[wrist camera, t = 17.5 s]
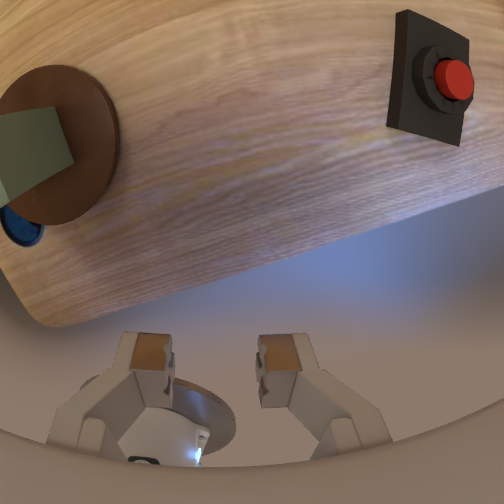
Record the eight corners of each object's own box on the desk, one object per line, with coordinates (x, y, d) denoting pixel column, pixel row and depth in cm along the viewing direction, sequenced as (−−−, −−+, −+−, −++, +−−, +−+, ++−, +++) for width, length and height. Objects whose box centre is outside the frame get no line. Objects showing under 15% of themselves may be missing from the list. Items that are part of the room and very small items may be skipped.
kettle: (25, 240, 26) (-41, 312, 15) (-23, 115, 19) (-109, 143, 8) (143, 189, 25) (91, 260, 14) (92, 36, 18) (7, 6, 7)
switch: (459, 103, 20) (472, 105, 19) (432, 91, 20) (444, 92, 18) (462, 68, 19) (475, 68, 17) (435, 54, 18) (447, 54, 17)
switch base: (446, 142, 26) (470, 151, 22) (385, 126, 25) (408, 132, 21) (456, 40, 20) (481, 39, 17) (395, 12, 19) (418, 5, 16)
